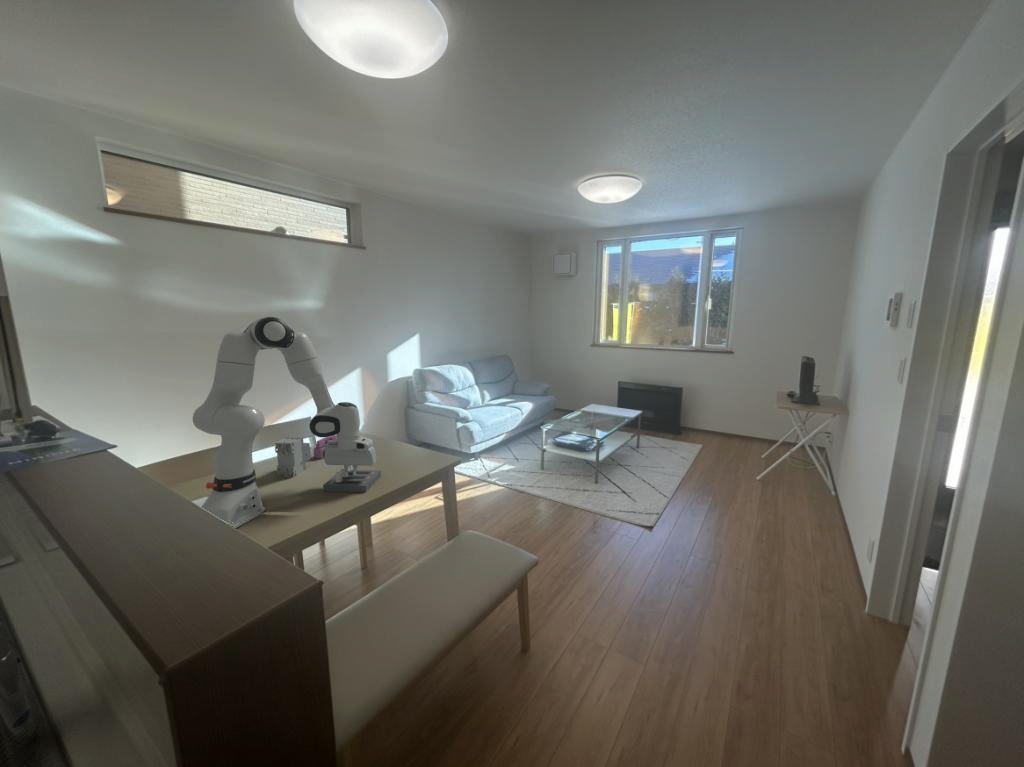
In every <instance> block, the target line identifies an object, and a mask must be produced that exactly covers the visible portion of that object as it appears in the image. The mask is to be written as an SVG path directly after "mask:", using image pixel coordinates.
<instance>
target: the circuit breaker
mask: <svg viewBox="0 0 1024 767" xmlns="http://www.w3.org/2000/svg"><path fill="white" fill-rule="evenodd" d="M274 444H275V446H274V451H275V454H276V456H277V464H278V465H277V466H276V470H277V471H276V472H277V474H278V475H277V476H278V477H282V478H283V477H284V478H295V477H297V476H299V475H300V474H301V473H303V472H304V471H306V469H307V468H306V463H307V462H308V461H309V460H312V459H311V458H312V456H311V449H312V448H311V445H310V444H311V443H310V442H304V437H291V436H290V437H289V436H288V437H287V436H286V437H284V438H282V439H280V440H278V441H276V442H274Z"/></svg>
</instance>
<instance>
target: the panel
mask: <svg viewBox="0 0 1024 767" xmlns="http://www.w3.org/2000/svg"><path fill="white" fill-rule="evenodd" d="M339 472H341V470H340V471H339ZM381 476H382V472H381V470H380V469H379V470H372V469H371V470H369V469H368V470H366V469H363V470H362V469H356V474H355V475H348V476H347V477H342V481H341V482H336V480H335V475H334V476H332V477H331V478H330V479H328V480H326V482H325V483H324V484H322V487H323V488H322V489H323V492H345V493H346V492H351V493H353V492H355V493H356V492H357V493H367V492H368V490H369V489H371V488H372V486H374V484H376V482H377V481H379V479H380V478H382V477H381Z"/></svg>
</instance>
